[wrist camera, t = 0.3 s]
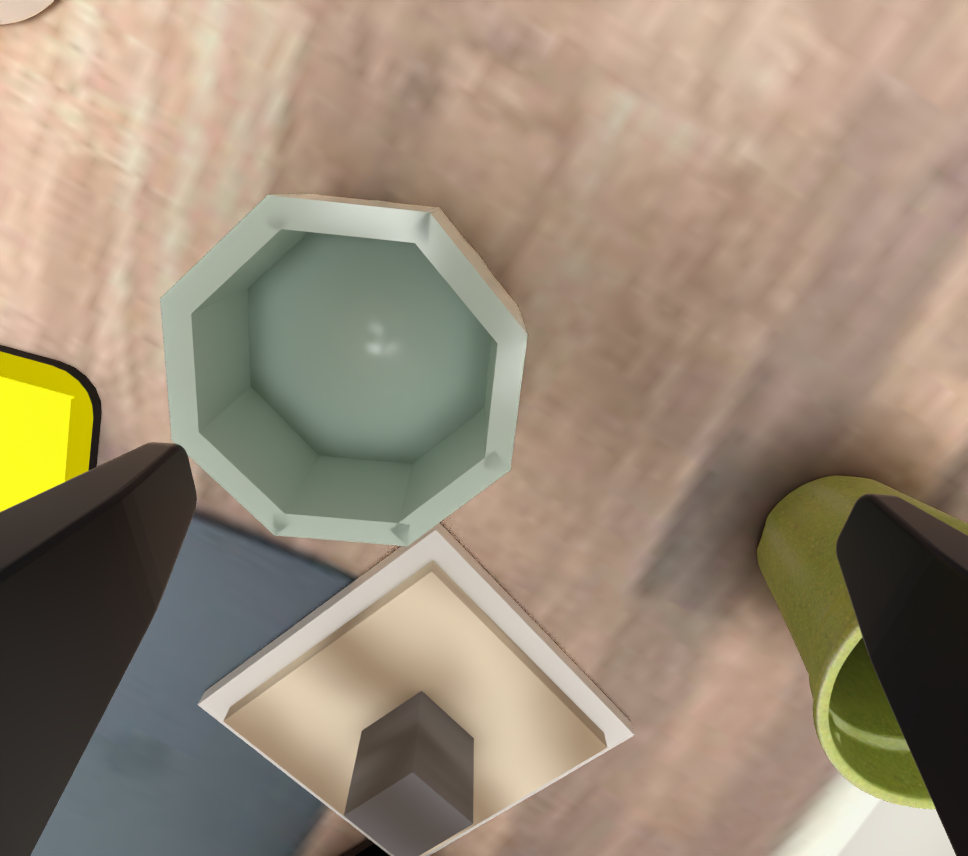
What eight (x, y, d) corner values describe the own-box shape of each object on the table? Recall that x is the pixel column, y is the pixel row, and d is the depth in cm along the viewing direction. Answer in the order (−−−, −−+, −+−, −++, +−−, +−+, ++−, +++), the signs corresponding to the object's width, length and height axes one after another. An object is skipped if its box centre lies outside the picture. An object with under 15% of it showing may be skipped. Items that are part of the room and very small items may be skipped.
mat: (408, 853, 33) (407, 868, 32) (205, 691, 29) (197, 704, 28) (630, 721, 30) (634, 735, 29) (436, 519, 26) (435, 529, 25)
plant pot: (670, 527, 26) (757, 682, 18) (874, 385, 24) (1080, 486, 16) (786, 663, 29) (910, 852, 20) (980, 546, 26) (1203, 704, 18)
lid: (408, 849, 31) (397, 959, 27) (229, 707, 28) (182, 805, 24) (604, 733, 29) (627, 833, 24) (433, 560, 25) (423, 639, 21)
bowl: (367, 514, 25) (339, 596, 20) (177, 325, 23) (89, 365, 18) (565, 362, 23) (590, 412, 18) (382, 132, 20) (350, 113, 15)
